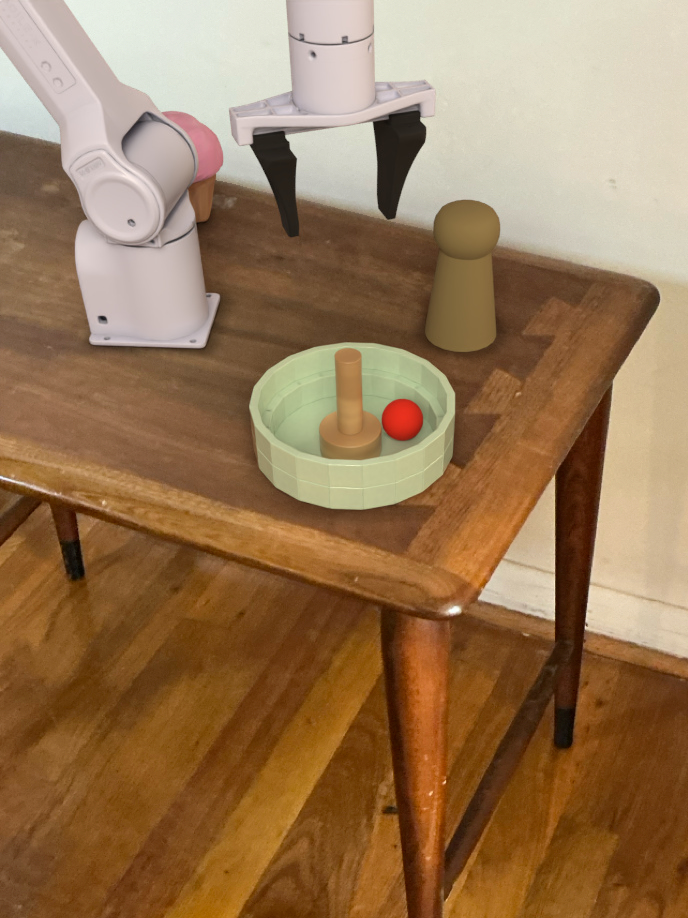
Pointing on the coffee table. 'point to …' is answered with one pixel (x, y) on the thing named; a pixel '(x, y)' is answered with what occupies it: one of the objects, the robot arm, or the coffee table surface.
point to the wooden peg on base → (349, 415)
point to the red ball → (402, 419)
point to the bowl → (383, 380)
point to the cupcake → (201, 162)
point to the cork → (463, 277)
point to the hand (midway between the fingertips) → (339, 222)
